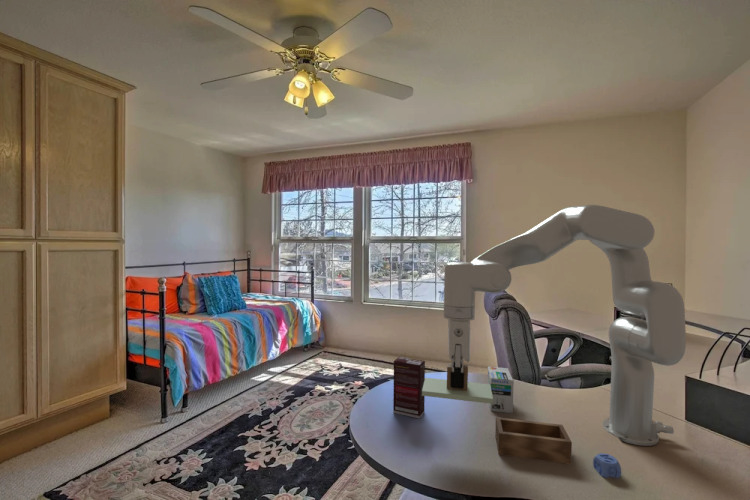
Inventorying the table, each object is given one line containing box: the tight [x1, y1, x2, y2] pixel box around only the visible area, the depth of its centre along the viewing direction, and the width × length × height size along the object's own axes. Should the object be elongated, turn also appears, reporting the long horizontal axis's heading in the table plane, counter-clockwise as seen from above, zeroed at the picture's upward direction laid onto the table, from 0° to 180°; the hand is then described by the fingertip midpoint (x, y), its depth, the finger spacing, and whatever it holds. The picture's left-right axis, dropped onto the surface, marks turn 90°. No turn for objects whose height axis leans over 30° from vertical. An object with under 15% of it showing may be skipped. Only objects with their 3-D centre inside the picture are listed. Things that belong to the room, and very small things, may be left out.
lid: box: [422, 362, 493, 404], centre depth 93 cm, size 17×9×7 cm, turn 77°
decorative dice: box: [592, 452, 622, 479], centre depth 83 cm, size 4×4×4 cm
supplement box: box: [392, 356, 426, 420], centre depth 111 cm, size 9×5×16 cm, turn 65°
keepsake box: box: [494, 416, 573, 465], centre depth 91 cm, size 16×8×6 cm, turn 77°
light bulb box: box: [487, 366, 515, 414], centre depth 116 cm, size 11×7×11 cm, turn 168°
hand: (457, 383), depth 93 cm, fingers closed on lid, 3 cm apart
